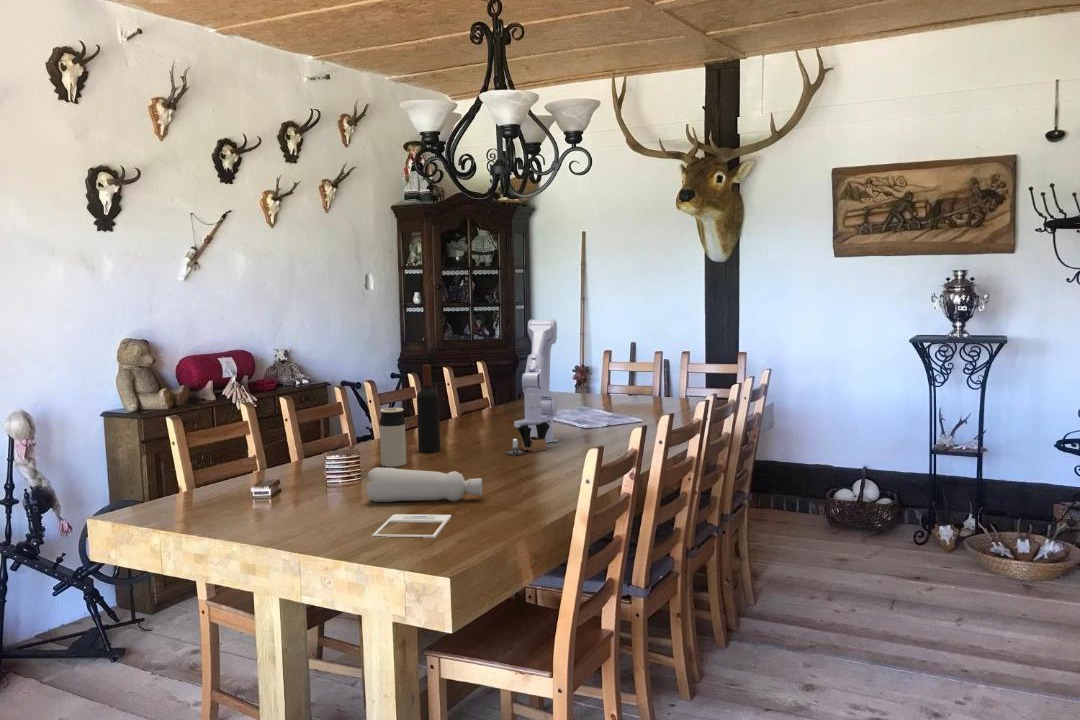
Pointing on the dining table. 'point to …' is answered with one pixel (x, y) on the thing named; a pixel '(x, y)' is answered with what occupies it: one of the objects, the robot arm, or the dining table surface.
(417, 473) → the bottle
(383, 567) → the dining table surface
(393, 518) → the photo frame
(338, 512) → the dining table surface
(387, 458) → the travel mug
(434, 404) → the wine bottle
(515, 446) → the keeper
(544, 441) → the copper rectangular sleeve
